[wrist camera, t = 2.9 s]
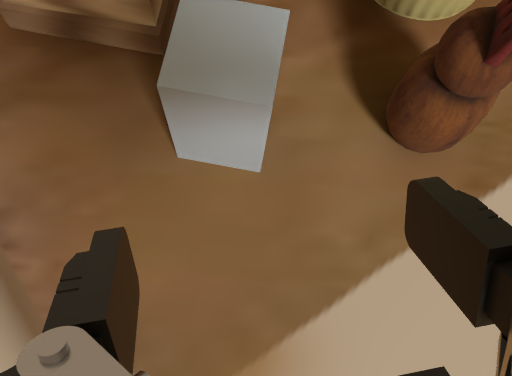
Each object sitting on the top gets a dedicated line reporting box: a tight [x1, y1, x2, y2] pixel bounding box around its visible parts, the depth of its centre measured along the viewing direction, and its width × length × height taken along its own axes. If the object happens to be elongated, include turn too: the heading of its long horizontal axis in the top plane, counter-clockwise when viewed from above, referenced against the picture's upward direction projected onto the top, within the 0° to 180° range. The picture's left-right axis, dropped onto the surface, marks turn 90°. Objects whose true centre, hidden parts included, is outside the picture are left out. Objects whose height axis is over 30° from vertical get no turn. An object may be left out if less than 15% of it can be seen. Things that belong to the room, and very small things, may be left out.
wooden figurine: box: [386, 0, 512, 153], centre depth 28 cm, size 7×6×15 cm
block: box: [157, 0, 290, 172], centre depth 29 cm, size 6×6×10 cm
